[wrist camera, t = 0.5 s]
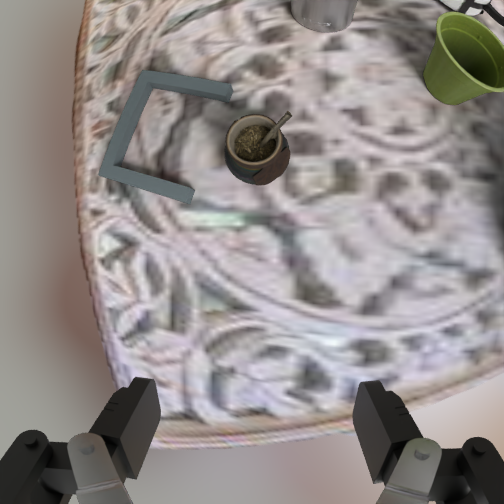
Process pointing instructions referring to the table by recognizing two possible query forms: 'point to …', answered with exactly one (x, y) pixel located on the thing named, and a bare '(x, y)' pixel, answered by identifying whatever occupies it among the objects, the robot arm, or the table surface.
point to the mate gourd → (257, 149)
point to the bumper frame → (131, 118)
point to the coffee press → (474, 8)
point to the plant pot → (464, 60)
